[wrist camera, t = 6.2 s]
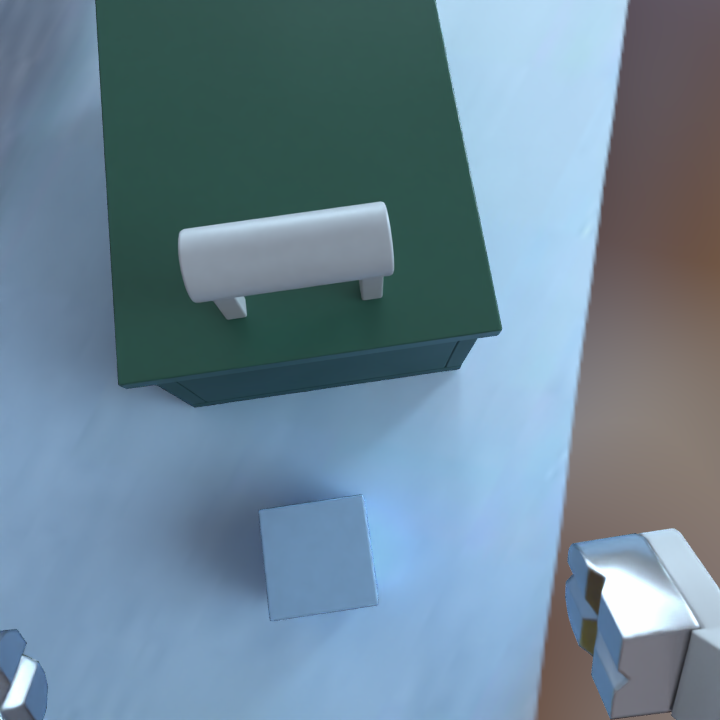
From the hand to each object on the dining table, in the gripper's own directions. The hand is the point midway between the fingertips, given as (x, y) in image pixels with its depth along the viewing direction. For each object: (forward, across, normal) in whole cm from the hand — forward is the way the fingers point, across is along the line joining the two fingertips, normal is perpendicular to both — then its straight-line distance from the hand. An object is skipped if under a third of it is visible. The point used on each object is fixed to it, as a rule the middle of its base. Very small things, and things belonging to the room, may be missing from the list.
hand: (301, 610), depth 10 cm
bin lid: (+19, 0, +4) cm, 19 cm away
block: (+14, -1, -14) cm, 20 cm away
